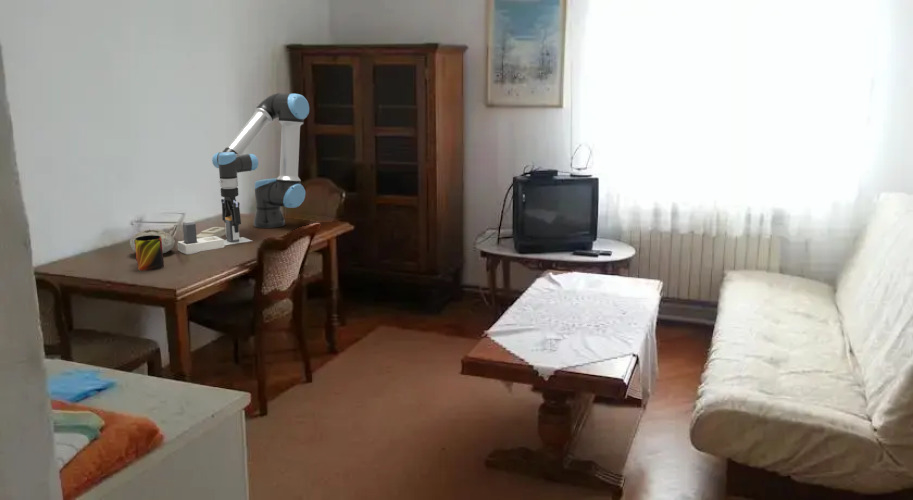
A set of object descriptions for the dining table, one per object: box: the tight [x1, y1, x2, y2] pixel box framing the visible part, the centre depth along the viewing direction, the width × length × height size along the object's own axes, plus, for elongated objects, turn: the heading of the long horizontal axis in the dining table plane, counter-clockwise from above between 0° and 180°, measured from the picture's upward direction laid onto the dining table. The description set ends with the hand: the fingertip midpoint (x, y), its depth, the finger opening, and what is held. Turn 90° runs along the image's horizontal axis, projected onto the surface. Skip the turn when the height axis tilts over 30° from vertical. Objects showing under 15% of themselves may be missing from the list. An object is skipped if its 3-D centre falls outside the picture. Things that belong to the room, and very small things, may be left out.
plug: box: [224, 216, 239, 243], centre depth 350 cm, size 4×4×11 cm
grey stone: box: [129, 228, 176, 254], centre depth 330 cm, size 18×18×10 cm
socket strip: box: [177, 220, 225, 256], centre depth 336 cm, size 17×9×13 cm, turn 131°
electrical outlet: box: [196, 226, 226, 239], centre depth 358 cm, size 7×4×18 cm
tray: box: [224, 236, 253, 246], centre depth 351 cm, size 14×10×1 cm
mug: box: [135, 235, 165, 272], centre depth 308 cm, size 10×14×12 cm
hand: (232, 238), depth 351 cm, fingers open, 6 cm apart
